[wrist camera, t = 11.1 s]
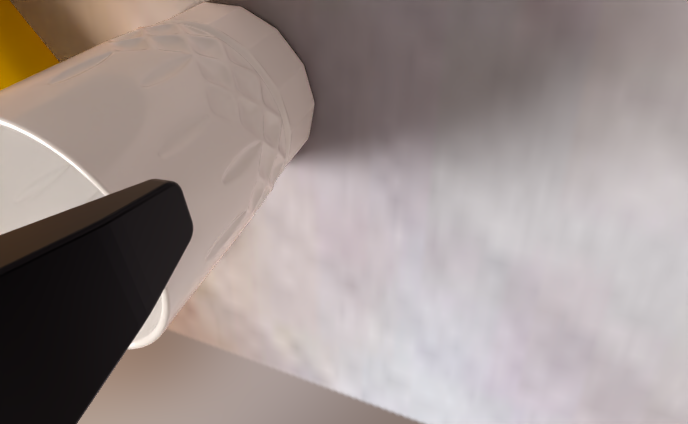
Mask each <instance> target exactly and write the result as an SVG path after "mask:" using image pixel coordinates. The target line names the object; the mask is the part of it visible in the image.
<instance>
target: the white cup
mask: <svg viewBox="0 0 688 424" xmlns="http://www.w3.org/2000/svg"><path fill="white" fill-rule="evenodd" d="M314 106H315V102H314V99H313V95H312V92H311V88H310V85H309V81H308V78H307V74H306V70H305V67H304V64H303V63H302V62H301V60H300V59H299V58H298V56H297V55H296V54H295V52H294V51H293V50H292V48H291V47H290V46H289V44H288V43H287V42H286V40H285V39H284V38H283V36H282V35H281V34H280V32H279V31H278V30H277V29H276V28H274V27H273V26H271V25H270V24H268V23H267V22H265V21H263V20H262V19H260V18H259V17H257V16H256V15H254V14H252V13H251V12H249V11H248V10H246V9H245V8H243V7H241V6H233V5H225V4H217V3H209V2H203V3H200V4H198V5H196V6H194V7H192V8H190V9H188V10H186V11H184V12H182V13H180V14H178V15H176V16H174V17H172V18H170V19H167V20H164V21H161V22H159V23H156V24H154V25H151V26H146V27H139V28H137V29H135V30H133V31H131V32H129V33H126V34H123V35H121V36H118V37H115V38H113V39H110V40H107V41H105V42H103V43H101V44H99V45H97V46H95V47H93V48H91V49H88V50H86V51H84V52H82V53H80V54H78V55H75V56H73V57H71V58H69V59H67V60H65V61H63V62H60V63H58V64H56V65H54V66H51V67H49V68H47V69H45V70H43V71H41V72H38V73H36V74H34V75H32V76H30V77H28V78H26V79H23V80H21V81H19V82H17V83H15V84H13V85H10V86H8V87H6V88H4V89H2V90H0V235H1V234H4V233H7V232H10V231H12V230H15V229H18V228H20V227H23V226H26V225H28V224H31V223H34V222H36V221H39V220H42V219H45V218H47V217H50V216H53V215H55V214H58V213H61V212H63V211H66V210H69V209H71V208H74V207H77V206H80V205H82V204H85V203H88V202H90V201H93V200H96V199H98V198H101V197H104V196H106V195H109V194H112V193H115V192H117V191H120V190H123V189H125V188H128V187H131V186H133V185H136V184H139V183H141V182H144V181H147V180H150V179H163V180H169V181H174V182H176V183H178V185H179V186H180V187H181V189H182V191H183V194H184V197H185V200H186V203H187V206H188V209H189V212H190V215H191V218H192V221H193V235H192V238H191V240H190V242H189V244H188V246H187V248H186V250H185V252H184V253H183V255H182V257H181V259H180V261H179V263H178V265H177V266H176V268H175V270H174V272H173V274H172V276H171V277H170V279H169V281H168V283H167V285H166V287H165V289H164V290H163V292H162V294H161V296H160V298H159V300H158V301H157V303H156V305H155V307H154V309H153V310H152V312H151V314H150V315H149V317H148V319H147V320H146V322H145V323H144V325H143V327H142V328H141V330H140V331H139V333H138V334H137V336H136V337H135V338H134V340H133V341H132V343H131V344H130V346H129V347H128V349H137V348H141V347H145V346H147V345H149V344H151V343H153V342H154V341H156V340H157V339H158V338H159V337H160V336H161V335H162V334H163V332H164V331H165V330H166V328H167V327H168V326H169V325H170V323H171V322H172V321H173V319H174V318H175V317H176V315H177V314H178V313H179V312H180V310H181V309H182V308H183V306H184V305H185V304H186V302H187V301H188V300H189V299H190V297H191V296H192V295H193V293H194V292H195V291H196V289H197V288H198V287H199V286H200V284H201V283H202V282H203V280H204V279H205V278H206V277H207V275H208V274H209V273H210V272H211V270H212V269H213V268H214V266H215V265H216V264H217V263H218V261H219V260H220V259H221V257H222V256H223V255H224V254H225V252H226V251H227V250H228V248H229V247H230V246H231V245H232V243H233V242H234V241H235V239H236V238H237V237H238V236H239V234H240V233H241V232H242V231H243V229H244V228H245V227H246V225H247V224H248V223H249V221H250V220H251V219H252V217H253V216H254V214H255V213H256V212H257V210H258V209H259V207H260V206H261V205H262V203H263V202H264V200H265V199H266V197H267V196H268V194H269V193H270V192H271V191H272V190H273V187H274V184H275V182H276V180H277V178H278V177H279V176H280V174H281V173H282V172H283V170H284V169H285V167H286V166H287V165H288V163H289V162H290V161H291V160H292V158H293V157H294V156H295V155H296V153H297V152H298V151H299V150H300V149H301V147H302V146H303V145H304V144H305V142H306V141H307V140H308V138H309V135H310V129H311V124H312V118H313V112H314Z"/></svg>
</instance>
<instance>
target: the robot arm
mask: <svg viewBox="0 0 688 424" xmlns="http://www.w3.org/2000/svg"><path fill="white" fill-rule="evenodd" d="M192 235H193V221H192V218H191V215H190V212H189V209H188V206H187V203H186V200H185V197H184V194H183V191H182V189H181V187H180V186H179V185H178V183H176V182H174V181H169V180H163V179H150V180H147V181H144V182H141V183H139V184H136V185H133V186H131V187H128V188H125V189H123V190H120V191H117V192H115V193H112V194H109V195H106V196H104V197H101V198H98V199H96V200H93V201H90V202H88V203H85V204H82V205H80V206H77V207H74V208H71V209H69V210H66V211H63V212H61V213H58V214H55V215H53V216H50V217H47V218H45V219H42V220H39V221H36V222H34V223H31V224H28V225H26V226H23V227H20V228H18V229H15V230H12V231H10V232H7V233H4V234H1V235H0V424H77V423H78V421H79V420H80V418H81V417H82V415H83V414H84V412H85V411H86V410H87V408H88V406H89V405H90V404H91V402H92V401H93V399H94V398H95V396H96V395H97V393H98V392H99V390H100V389H101V387H102V386H103V384H104V383H105V381H106V380H107V378H108V377H109V375H110V374H111V372H112V371H113V370H114V368H115V367H116V365H117V364H118V362H119V361H120V359H121V358H122V356H123V355H124V353H125V352H126V350H127V349H128V347H129V346H130V344H131V343H132V341H133V340H134V338H135V337H136V336H137V334H138V333H139V331H140V330H141V328H142V327H143V325H144V323H145V322H146V320H147V319H148V317H149V315H150V314H151V312H152V310H153V309H154V307H155V305H156V303H157V301H158V300H159V298H160V296H161V294H162V292H163V290H164V289H165V287H166V285H167V283H168V281H169V279H170V277H171V276H172V274H173V272H174V270H175V268H176V266H177V265H178V263H179V261H180V259H181V257H182V255H183V253H184V252H185V250H186V248H187V246H188V244H189V242H190V240H191V238H192Z"/></svg>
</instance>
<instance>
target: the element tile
mask: <svg viewBox="0 0 688 424" xmlns="http://www.w3.org/2000/svg"><path fill="white" fill-rule="evenodd" d="M58 63H60V62H59V61H58V60H57V59H56V57H55V56H54V55H53V54H52V52H51V51H50V50H49V49H48V47H47V46H46V45H45V44H44V43H43V41H42V40H41V39H40V38H39V36H38V35H37V34H36V33H35V31H34V30H33V29H32V28H31V26H30V25H29V24H28V23H27V22H26V20H25V19H24V18H23V17H22V15H21V14H20V13H19V12H18V10H17V9H16V8H15V7H14V5H13V4H12V3H11V2H10V1H9V0H0V90H2V89H4V88H6V87H8V86H10V85H13V84H15V83H17V82H19V81H21V80H23V79H26V78H28V77H30V76H32V75H34V74H36V73H38V72H41V71H43V70H45V69H47V68H49V67H51V66H54V65H56V64H58Z"/></svg>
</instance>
